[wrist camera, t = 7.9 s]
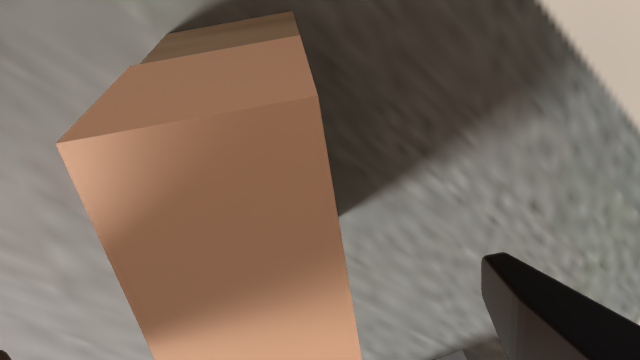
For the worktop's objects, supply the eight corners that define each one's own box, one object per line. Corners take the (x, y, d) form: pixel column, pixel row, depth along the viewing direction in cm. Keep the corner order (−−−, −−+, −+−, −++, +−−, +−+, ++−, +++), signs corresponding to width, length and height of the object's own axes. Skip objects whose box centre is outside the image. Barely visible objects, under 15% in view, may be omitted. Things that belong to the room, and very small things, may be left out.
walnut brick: (330, 219, 19) (346, 297, 15) (229, 238, 19) (220, 321, 15) (292, 10, 15) (301, 40, 11) (167, 33, 15) (132, 71, 11)
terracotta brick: (345, 294, 15) (372, 426, 11) (218, 318, 15) (200, 459, 11) (300, 35, 11) (318, 95, 7) (130, 66, 11) (56, 143, 7)
